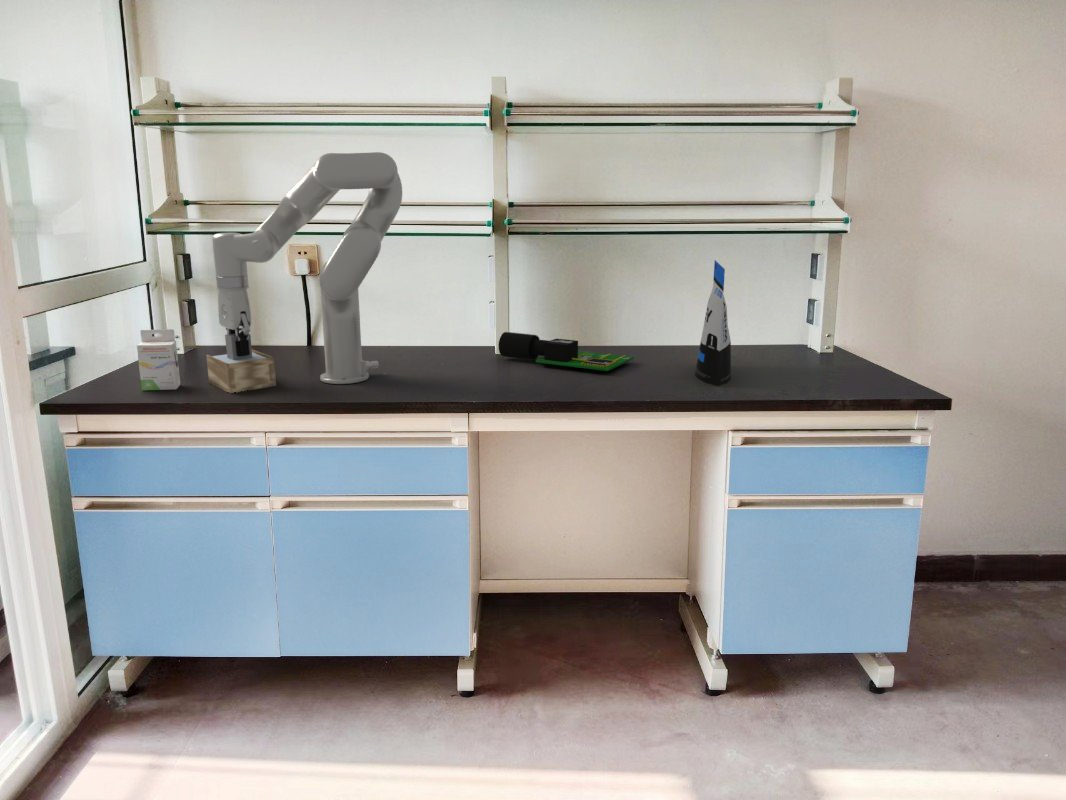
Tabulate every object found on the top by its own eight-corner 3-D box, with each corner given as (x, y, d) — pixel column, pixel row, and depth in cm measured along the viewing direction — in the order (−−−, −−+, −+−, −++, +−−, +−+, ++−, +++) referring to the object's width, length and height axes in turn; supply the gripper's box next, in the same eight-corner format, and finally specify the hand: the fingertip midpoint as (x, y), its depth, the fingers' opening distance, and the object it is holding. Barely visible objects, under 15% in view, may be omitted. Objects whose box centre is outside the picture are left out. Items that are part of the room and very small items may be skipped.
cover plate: (249, 354, 221) (246, 329, 219) (269, 362, 211) (267, 335, 210) (211, 360, 214) (208, 333, 213) (230, 368, 205) (227, 340, 203)
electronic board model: (634, 335, 236) (608, 346, 221) (633, 363, 238) (607, 376, 223) (526, 325, 253) (495, 334, 238) (526, 351, 255) (495, 362, 240)
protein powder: (725, 366, 235) (732, 260, 227) (736, 387, 211) (744, 269, 204) (691, 365, 236) (697, 259, 228) (698, 386, 212) (705, 269, 205)
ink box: (140, 391, 208) (133, 333, 204) (145, 386, 212) (138, 329, 208) (177, 389, 209) (170, 331, 205) (181, 384, 214) (175, 328, 210)
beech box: (253, 376, 223) (251, 348, 221) (276, 385, 213) (273, 357, 211) (209, 383, 215) (206, 355, 214) (230, 393, 205) (227, 363, 203)
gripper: (205, 281, 211) (212, 351, 216) (230, 287, 199) (238, 361, 204) (234, 278, 216) (240, 347, 221) (260, 284, 204) (267, 357, 209)
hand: (239, 353), depth 212 cm, fingers closed on cover plate, 4 cm apart
